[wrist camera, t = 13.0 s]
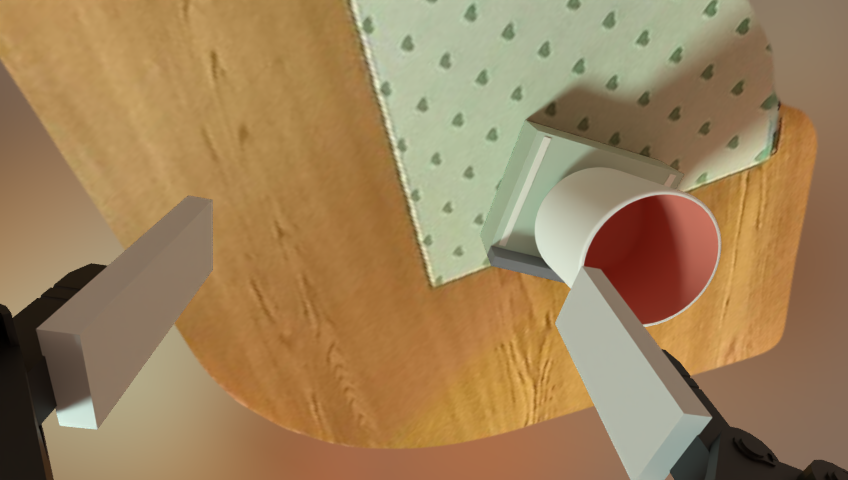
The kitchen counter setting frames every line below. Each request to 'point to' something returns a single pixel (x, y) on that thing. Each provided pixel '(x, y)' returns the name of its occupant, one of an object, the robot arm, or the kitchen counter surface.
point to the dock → (533, 179)
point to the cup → (631, 239)
